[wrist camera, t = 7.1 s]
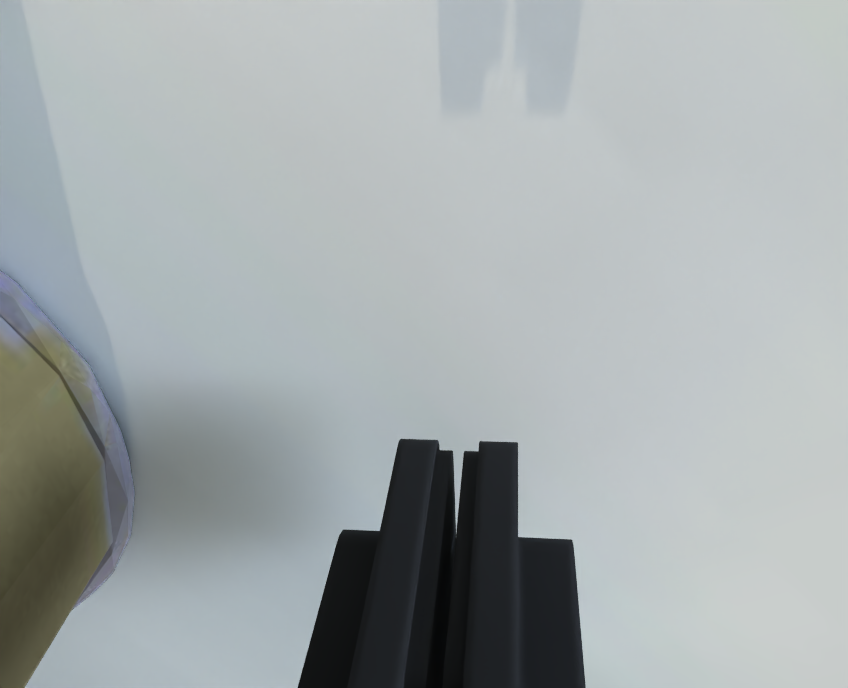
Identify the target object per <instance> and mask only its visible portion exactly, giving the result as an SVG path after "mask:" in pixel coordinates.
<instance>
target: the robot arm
mask: <svg viewBox="0 0 848 688" xmlns="http://www.w3.org/2000/svg"><path fill="white" fill-rule="evenodd" d="M298 688H585V676H584V664H583V652H582V640H581V629H580V617H579V605H578V593H577V581H576V569H575V557H574V548H573V542H572V540H568V539H545V538H522V537H518V443H516V442H483V441H480V443H479V452H474V451H464V458H463V469H462V479H461V490H460V501H459V512H458V523H457V534H456V523H455V493H454V464H453V451H443V450H439V442H438V440H416V439H400V441H399V443H398V447H397V452H396V457H395V462H394V466H393V471H392V476H391V481H390V486H389V490H388V495H387V500H386V505H385V509H384V514H383V519H382V524H381V529H380V531H363V530H343V531H342V532H341V534H340V536H339V539H338V541H337V545H336V548H335V552H334V556H333V559H332V563H331V567H330V570H329V574H328V578H327V582H326V585H325V589H324V593H323V596H322V600H321V604H320V607H319V611H318V615H317V619H316V622H315V626H314V630H313V633H312V637H311V641H310V644H309V648H308V652H307V656H306V659H305V663H304V667H303V670H302V674H301V678H300V682H299V685H298Z"/></svg>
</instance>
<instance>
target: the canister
mask: <svg viewBox="0 0 848 688" xmlns="http://www.w3.org/2000/svg"><path fill="white" fill-rule="evenodd" d="M134 498H135V491H134V484H133V478H132V472H131V465H130V460H129V456H128V453H127V450H126V446H125V443H124V439H123V436H122V433H121V430H120V427H119V425H118V423H117V421H116V419H115V417H114V415H113V413H112V411H111V409H110V407H109V405H108V403H107V401H106V399H105V397H104V395H103V393H102V391H101V388H100V386H99V384H98V382H97V380H96V378H95V376H94V374H93V372H92V370H91V368H90V366H89V364H88V363H87V362H86V361H85V360H84V358H83V357H82V356H81V355H80V354H79V353H78V352H77V350H76V349H75V348H74V347H73V346H72V345H71V344H70V342H69V341H68V340H67V339H66V338H65V337H64V336H63V334H62V333H61V332H60V331H59V330H58V329H57V328H56V326H55V325H54V324H53V323H52V322H51V321H50V320H49V319H48V317H47V316H46V315H45V314H44V313H43V312H42V311H41V309H40V308H39V307H38V306H37V305H36V304H35V303H34V301H33V300H32V299H31V298H30V297H29V296H28V295H27V293H26V292H25V291H24V290H23V289H22V288H21V287H20V285H19V284H18V283H17V282H15V281H14V280H13V279H11V278H10V277H9V276H7V275H6V274H5V273H3V272H2V271H1V270H0V688H24V687H25V686H26V684H27V683H28V681H29V679H30V678H31V676H32V674H33V673H34V671H35V669H36V668H37V666H38V664H39V663H40V661H41V659H42V658H43V656H44V654H45V653H46V651H47V649H48V648H49V646H50V645H51V643H52V641H53V640H54V638H55V636H56V635H57V633H58V631H59V630H60V628H61V626H62V625H63V623H64V621H65V620H66V618H67V616H68V615H69V613H70V611H71V610H73V609H74V608H75V607H76V606H78V605H79V604H80V603H81V602H83V601H84V600H85V599H86V598H87V597H89V596H90V595H91V594H92V593H93V592H94V591H95V590H97V589H98V588H99V587H100V586H101V585H102V584H103V583H104V582H105V581H106V580H107V579H108V578H109V577H110V575H111V574H112V573H113V572H114V570H115V568H116V566H117V564H118V562H119V560H120V557H121V555H122V553H123V551H124V549H125V547H126V544H127V542H128V540H129V538H130V536H131V531H132V520H133V509H134Z"/></svg>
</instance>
